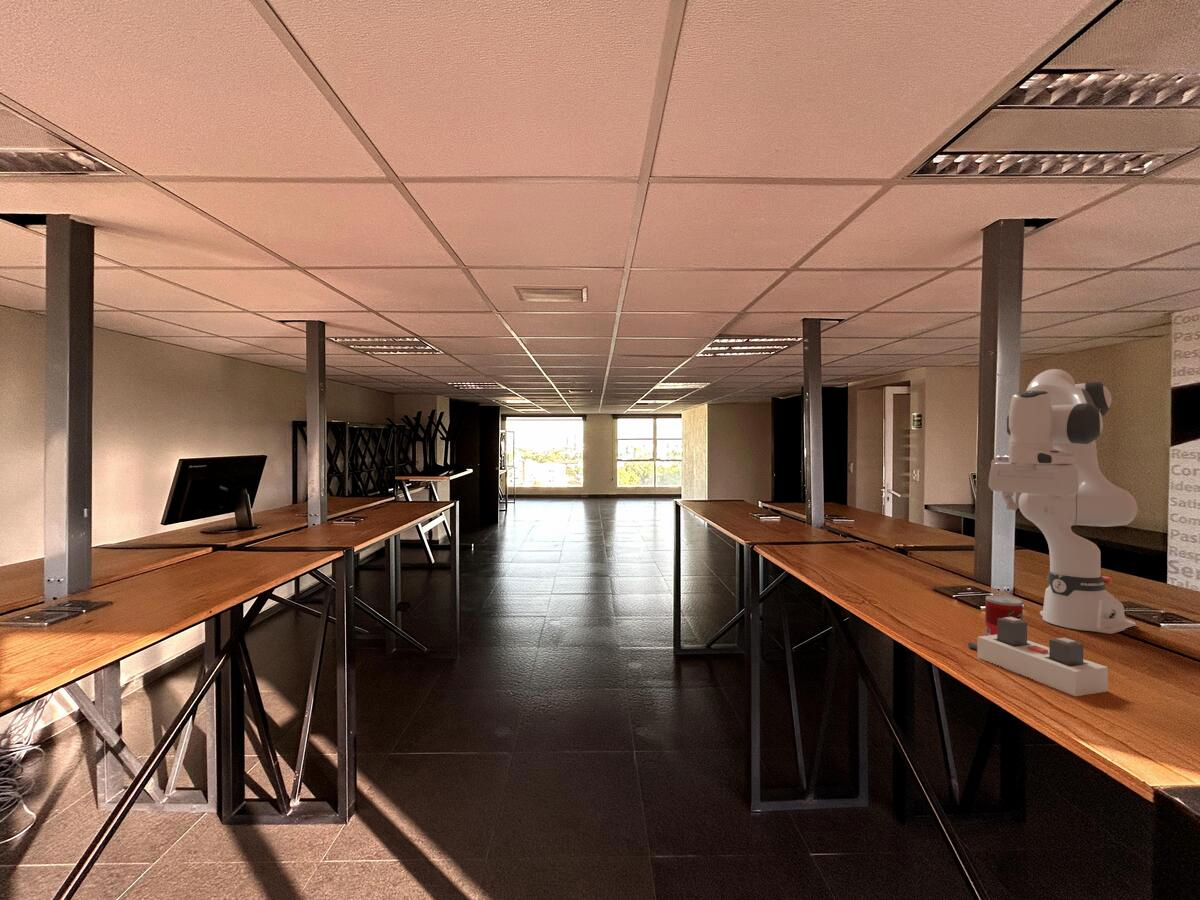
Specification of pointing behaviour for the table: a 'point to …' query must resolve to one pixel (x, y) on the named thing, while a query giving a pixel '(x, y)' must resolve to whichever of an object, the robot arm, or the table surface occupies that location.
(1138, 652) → the table surface
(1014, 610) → the canned food
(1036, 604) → the table surface
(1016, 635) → the plug
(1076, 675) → the pdu strip
